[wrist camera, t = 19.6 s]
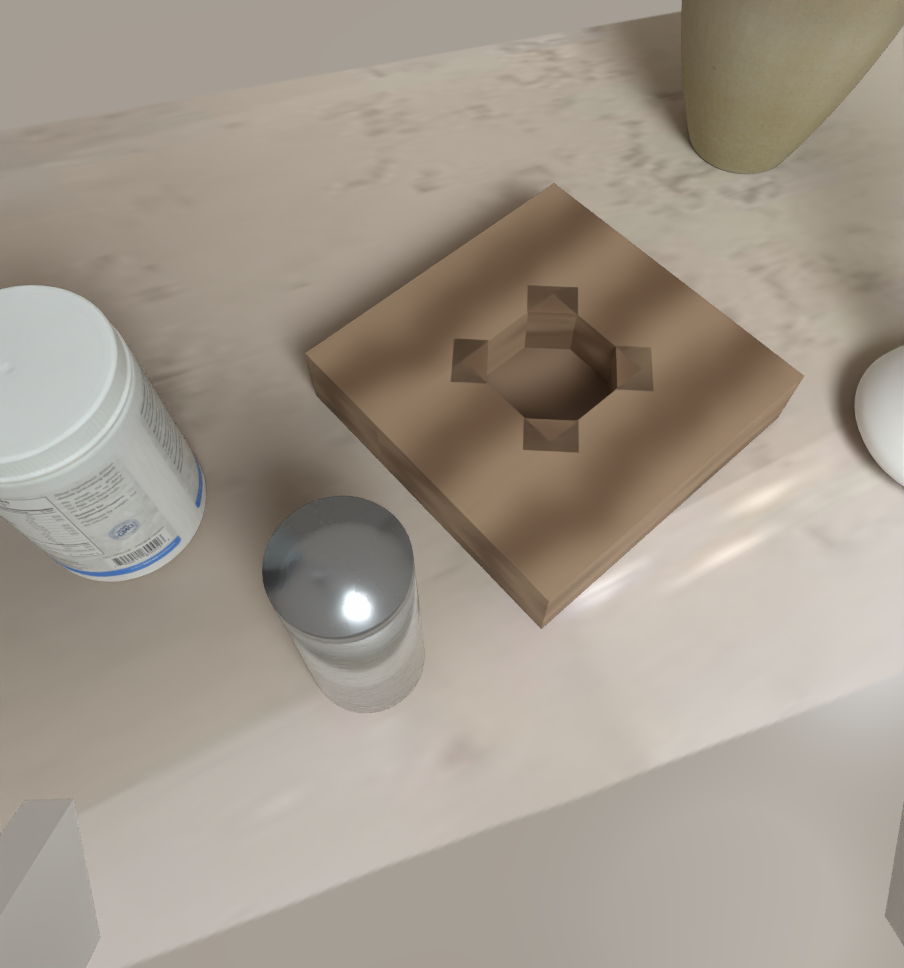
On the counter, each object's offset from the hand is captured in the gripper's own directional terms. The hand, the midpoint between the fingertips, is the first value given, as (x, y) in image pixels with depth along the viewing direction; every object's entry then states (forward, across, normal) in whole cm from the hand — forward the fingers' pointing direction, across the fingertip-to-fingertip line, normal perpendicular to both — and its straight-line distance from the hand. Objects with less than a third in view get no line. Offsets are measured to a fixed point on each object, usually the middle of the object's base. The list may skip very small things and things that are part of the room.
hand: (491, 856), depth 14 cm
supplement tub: (+36, -19, -7) cm, 41 cm away
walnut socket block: (+40, +5, -2) cm, 41 cm away
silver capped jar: (+29, -5, -13) cm, 32 cm away
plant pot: (+56, +22, +14) cm, 62 cm away
